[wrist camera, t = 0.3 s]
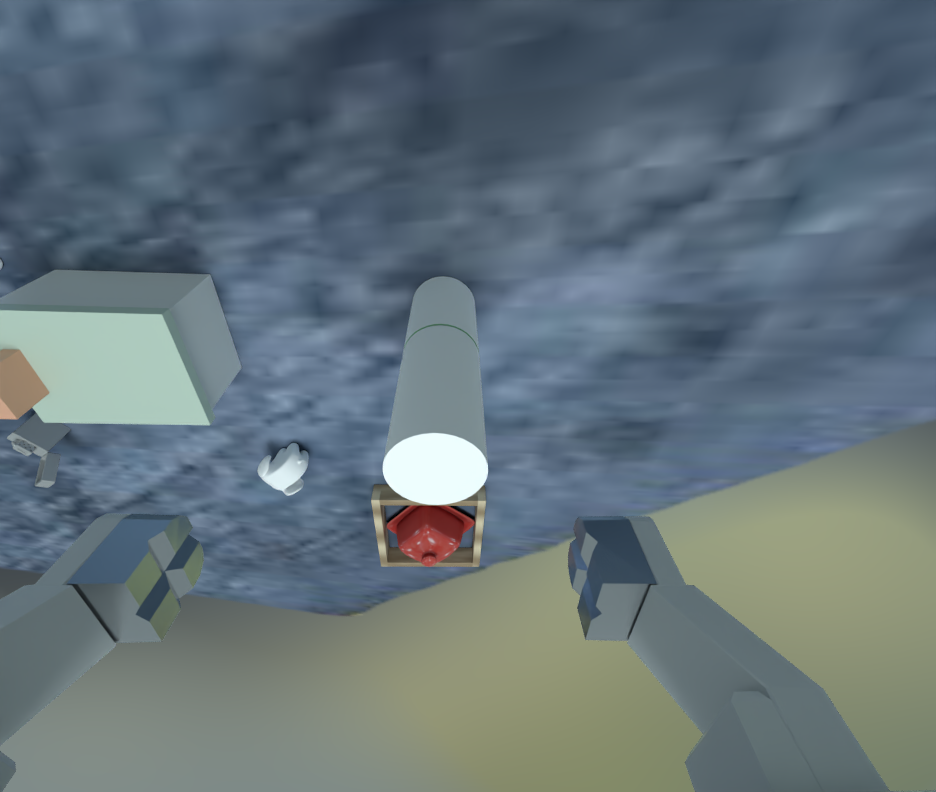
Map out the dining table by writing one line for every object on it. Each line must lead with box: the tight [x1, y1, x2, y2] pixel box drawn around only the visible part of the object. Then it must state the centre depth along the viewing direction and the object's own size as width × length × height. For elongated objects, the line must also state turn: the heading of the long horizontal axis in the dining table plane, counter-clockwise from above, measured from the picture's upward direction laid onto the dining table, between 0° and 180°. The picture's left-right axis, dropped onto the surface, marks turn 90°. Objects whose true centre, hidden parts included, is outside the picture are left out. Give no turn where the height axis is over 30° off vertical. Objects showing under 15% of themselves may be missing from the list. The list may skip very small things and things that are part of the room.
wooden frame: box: [371, 485, 486, 567], centre depth 72 cm, size 18×17×3 cm
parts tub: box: [0, 270, 242, 409], centre depth 46 cm, size 12×16×9 cm
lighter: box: [7, 413, 71, 487], centre depth 56 cm, size 7×2×8 cm, turn 33°
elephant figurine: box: [258, 443, 309, 495], centre depth 60 cm, size 7×8×6 cm
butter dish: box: [387, 505, 475, 567], centre depth 70 cm, size 12×12×8 cm
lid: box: [0, 304, 215, 425], centre depth 40 cm, size 13×17×6 cm
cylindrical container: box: [383, 276, 488, 505], centre depth 39 cm, size 7×7×25 cm
